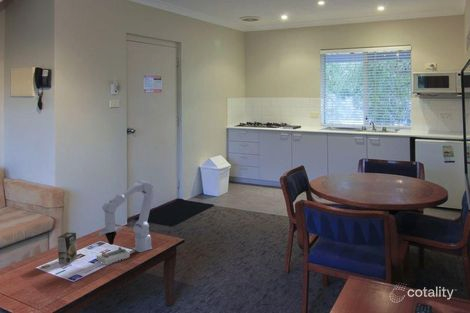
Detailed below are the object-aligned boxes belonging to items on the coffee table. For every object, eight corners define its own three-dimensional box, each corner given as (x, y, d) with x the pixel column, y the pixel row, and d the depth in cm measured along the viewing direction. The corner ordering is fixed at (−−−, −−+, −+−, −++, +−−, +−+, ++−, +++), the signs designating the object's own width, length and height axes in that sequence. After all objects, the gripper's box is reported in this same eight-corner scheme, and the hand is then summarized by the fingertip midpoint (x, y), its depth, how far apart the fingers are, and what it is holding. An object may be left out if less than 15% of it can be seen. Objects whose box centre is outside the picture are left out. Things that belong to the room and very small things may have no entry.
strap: (121, 250, 242) (121, 247, 241) (124, 251, 240) (124, 248, 239) (102, 256, 232) (102, 253, 232) (105, 257, 230) (105, 255, 230)
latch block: (120, 252, 245) (120, 245, 245) (129, 257, 239) (129, 249, 238) (96, 260, 234) (96, 252, 233) (105, 265, 227) (105, 257, 226)
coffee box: (68, 264, 227) (67, 237, 224) (58, 263, 228) (56, 237, 226) (77, 258, 236) (76, 232, 233) (68, 257, 237) (66, 231, 235)
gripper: (117, 217, 242) (117, 239, 244) (95, 223, 231) (96, 245, 233) (123, 220, 237) (124, 242, 239) (101, 226, 226) (102, 248, 228)
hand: (111, 244), depth 236 cm, fingers closed
